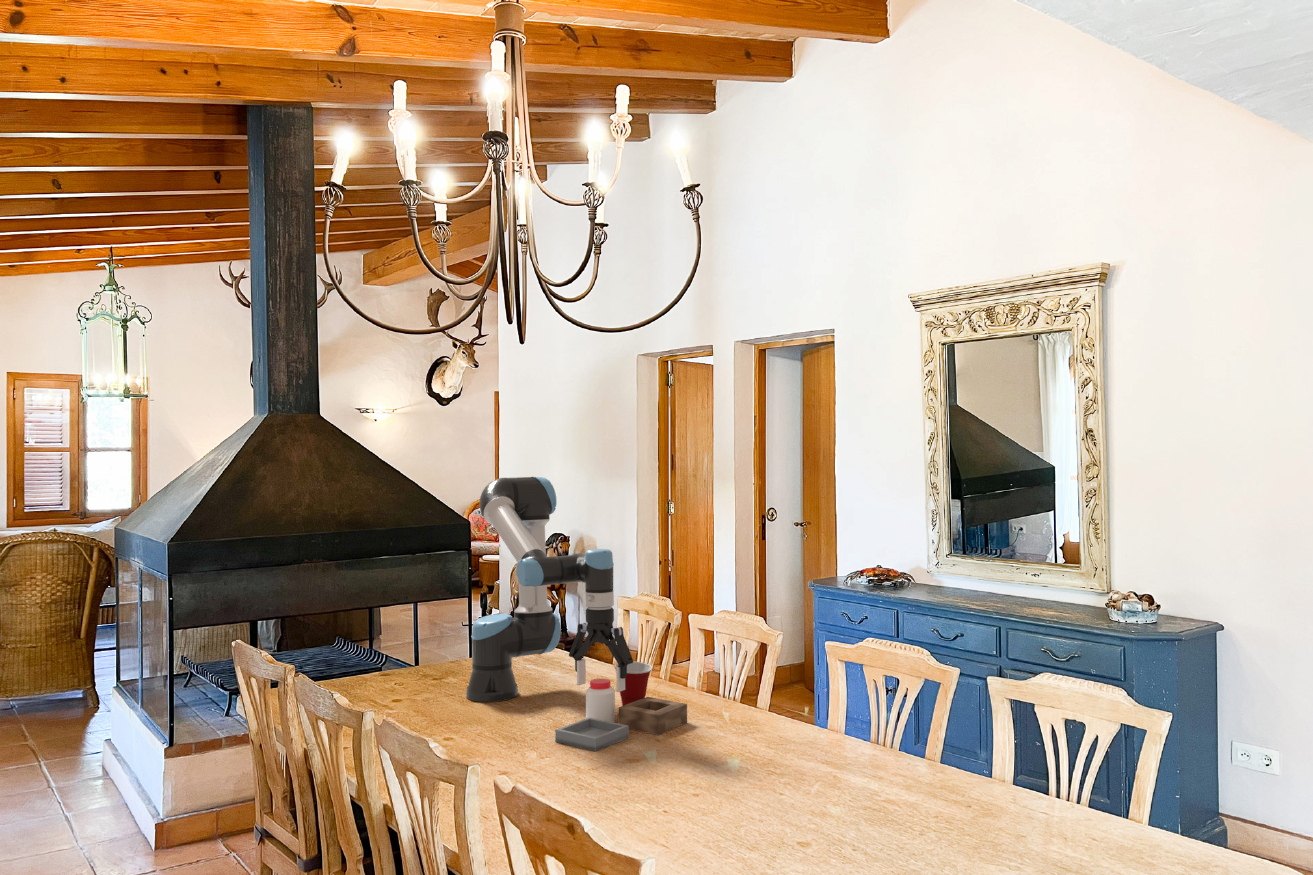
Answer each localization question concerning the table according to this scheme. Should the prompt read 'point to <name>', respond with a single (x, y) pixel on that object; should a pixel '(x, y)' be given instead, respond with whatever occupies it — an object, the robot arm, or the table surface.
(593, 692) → the pill bottle
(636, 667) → the plastic cup
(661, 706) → the cinder block
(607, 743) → the tray
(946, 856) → the table surface
